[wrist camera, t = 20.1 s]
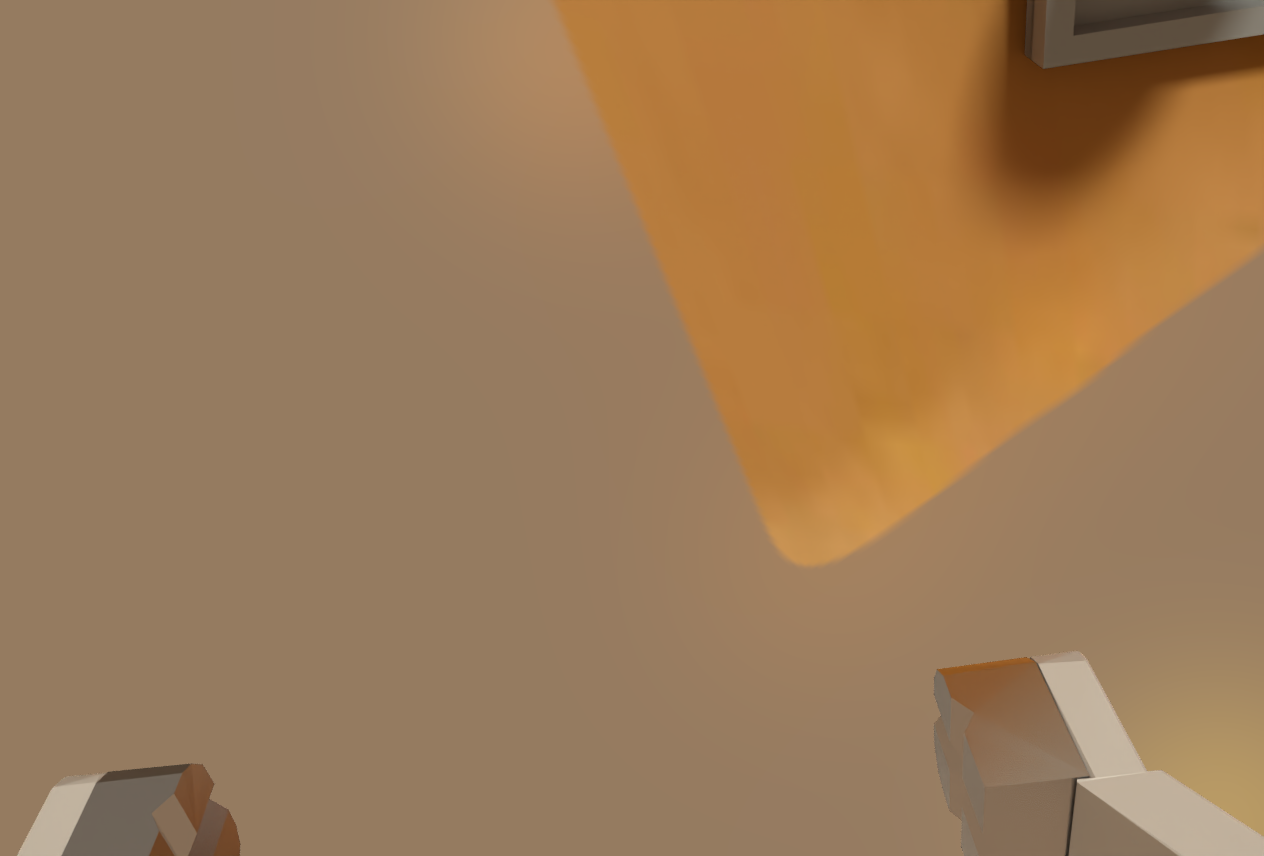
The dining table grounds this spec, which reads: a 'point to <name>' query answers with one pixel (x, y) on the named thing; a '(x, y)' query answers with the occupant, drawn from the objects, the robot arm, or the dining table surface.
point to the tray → (1132, 27)
